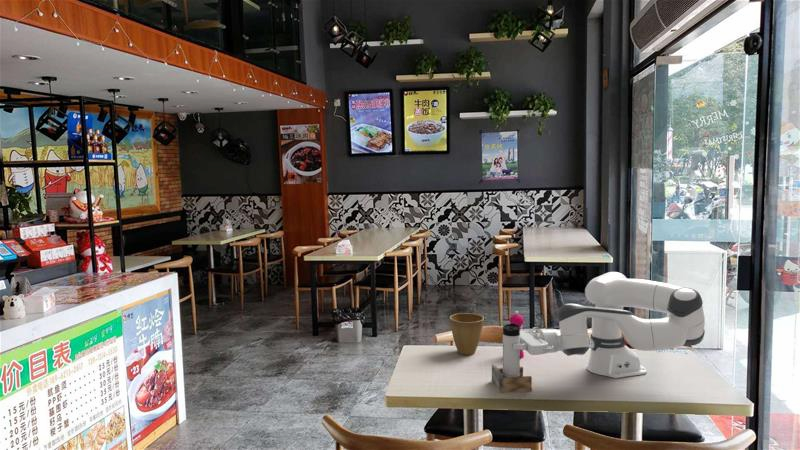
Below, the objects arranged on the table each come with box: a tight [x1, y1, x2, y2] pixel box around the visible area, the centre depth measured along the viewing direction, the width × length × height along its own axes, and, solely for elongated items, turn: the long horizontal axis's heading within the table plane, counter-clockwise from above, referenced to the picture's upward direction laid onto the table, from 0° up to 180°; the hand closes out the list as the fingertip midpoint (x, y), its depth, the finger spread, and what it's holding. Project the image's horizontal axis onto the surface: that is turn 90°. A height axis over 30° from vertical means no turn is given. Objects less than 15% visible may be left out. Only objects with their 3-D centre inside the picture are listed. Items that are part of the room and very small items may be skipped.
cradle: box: [491, 363, 533, 394], centre depth 227 cm, size 12×12×7 cm
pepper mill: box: [509, 310, 525, 359], centre depth 260 cm, size 7×7×20 cm
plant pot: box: [449, 312, 485, 356], centre depth 266 cm, size 15×15×16 cm
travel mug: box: [502, 323, 521, 377], centre depth 225 cm, size 6×7×20 cm
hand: (509, 343), depth 225 cm, fingers closed on travel mug, 6 cm apart
